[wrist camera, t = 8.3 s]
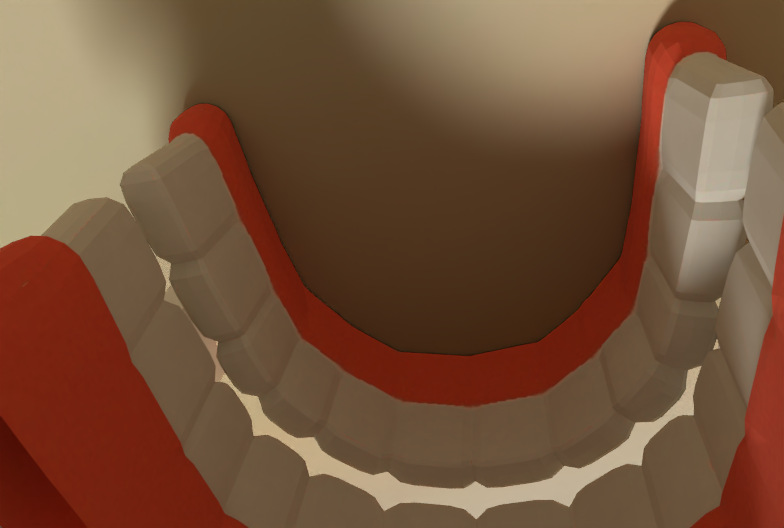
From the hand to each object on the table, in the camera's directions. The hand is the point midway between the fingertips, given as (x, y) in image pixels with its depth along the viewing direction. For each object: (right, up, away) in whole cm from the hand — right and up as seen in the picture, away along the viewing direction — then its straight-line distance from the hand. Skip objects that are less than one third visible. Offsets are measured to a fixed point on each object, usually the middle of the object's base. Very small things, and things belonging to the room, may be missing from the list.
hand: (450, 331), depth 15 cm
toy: (0, +1, 0) cm, 1 cm away
